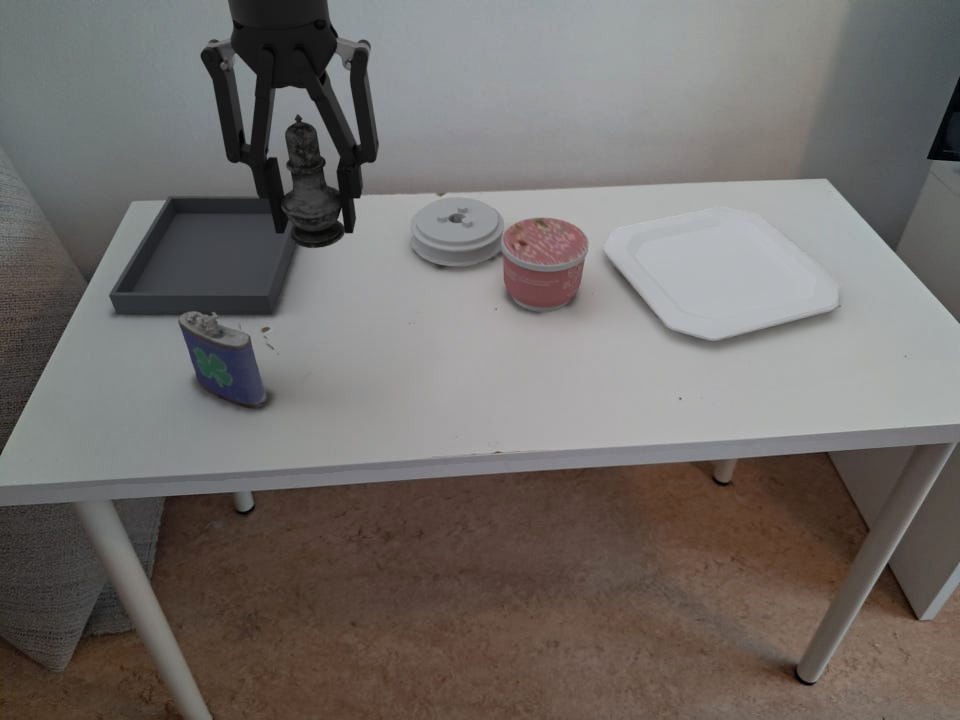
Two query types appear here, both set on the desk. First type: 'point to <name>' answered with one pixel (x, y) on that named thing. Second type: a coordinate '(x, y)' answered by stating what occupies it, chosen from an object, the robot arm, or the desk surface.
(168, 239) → the tray
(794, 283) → the plate
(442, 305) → the desk surface
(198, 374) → the flask
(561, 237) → the container
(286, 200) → the chess piece
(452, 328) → the desk surface
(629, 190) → the desk surface
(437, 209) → the grey pulley wheel
